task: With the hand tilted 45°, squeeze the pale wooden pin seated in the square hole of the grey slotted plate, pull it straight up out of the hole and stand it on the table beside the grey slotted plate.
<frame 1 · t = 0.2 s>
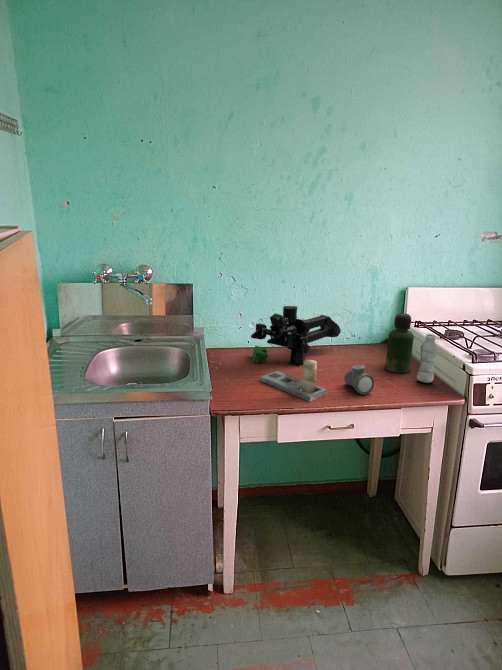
hand: (259, 339, 193), 17 cm above the table, fingers open, 9 cm apart
pipe fitting: (356, 389, 188), on the table
plastic bottle: (424, 382, 197), on the table
grey slotted plate: (292, 387, 188), on the table
pin: (308, 393, 183), resting in grey slotted plate
clamp: (260, 360, 218), on the table
green bottle: (397, 369, 210), on the table
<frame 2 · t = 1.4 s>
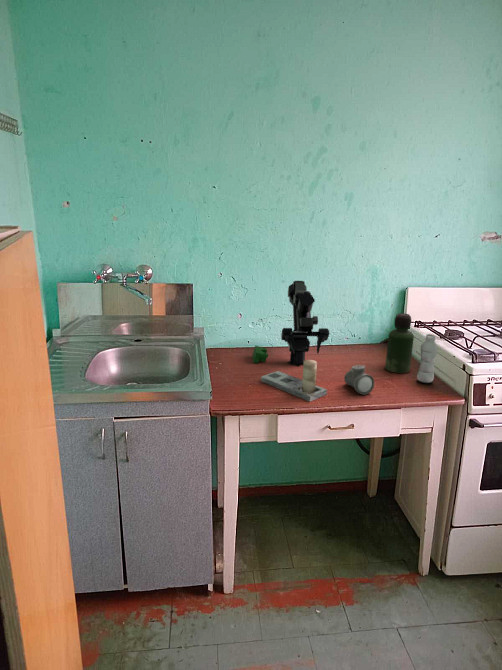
hand: (306, 353, 186), 14 cm above the table, fingers open, 9 cm apart
nothing on the table moved.
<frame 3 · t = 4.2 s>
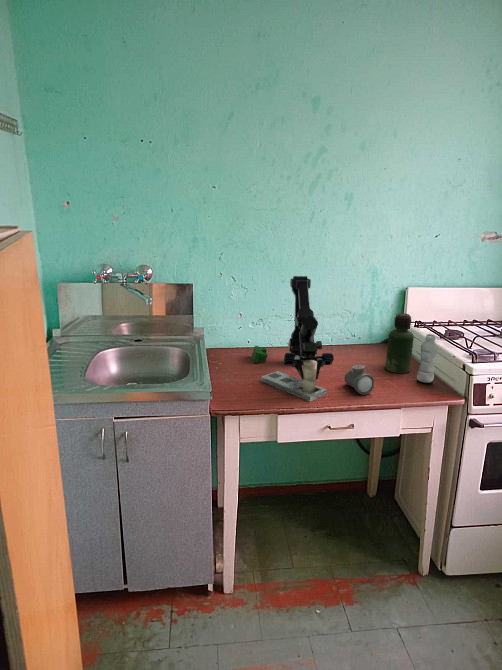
hand: (309, 379, 179), 7 cm above the table, fingers closed on pin, 5 cm apart
pin: (308, 393, 183), resting in grey slotted plate, touching gripper
everything else where it was.
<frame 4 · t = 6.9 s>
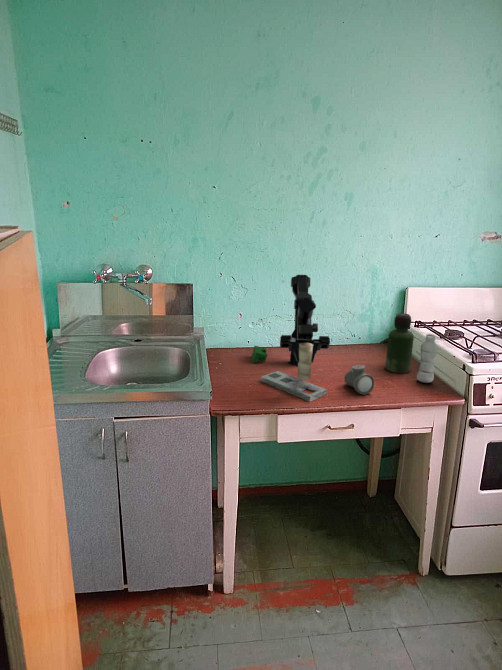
hand: (305, 362, 177), 13 cm above the table, fingers closed on pin, 5 cm apart
pin: (304, 377, 181), point 7 cm above the table, touching gripper
everything else where it was.
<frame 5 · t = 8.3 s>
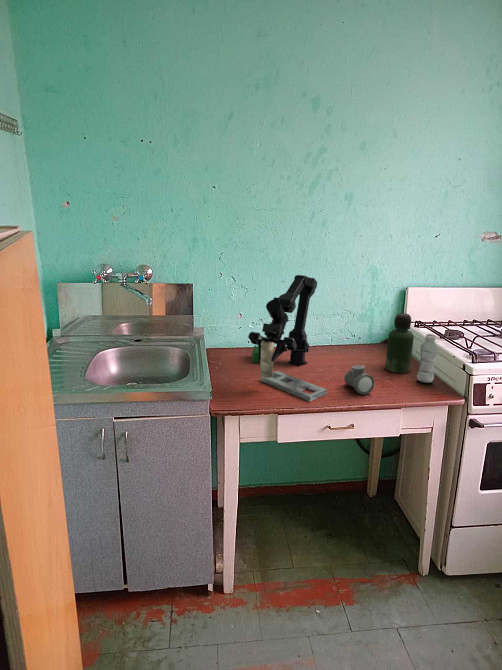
hand: (265, 360, 181), 13 cm above the table, fingers closed on pin, 5 cm apart
pin: (266, 375, 184), point 6 cm above the table, touching gripper
everything else where it was.
when the fingers open (8 cm above the table, at t = 9.6 s): pin drops 1 cm, on the table.
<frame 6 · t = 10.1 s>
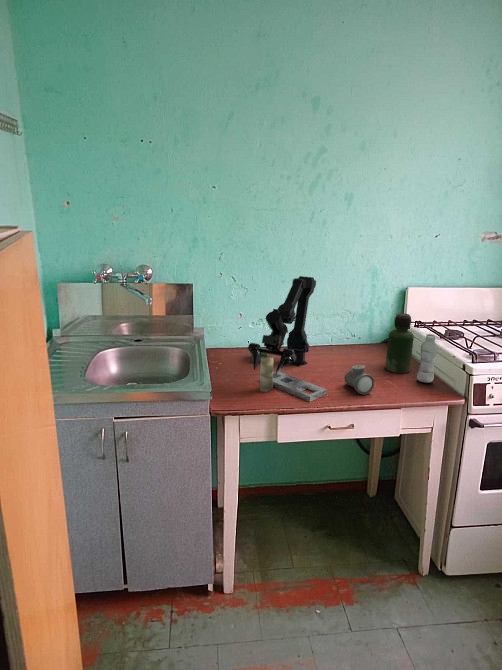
hand: (265, 371, 182), 8 cm above the table, fingers open, 9 cm apart
pin: (266, 389, 186), on the table
everything else where it was.
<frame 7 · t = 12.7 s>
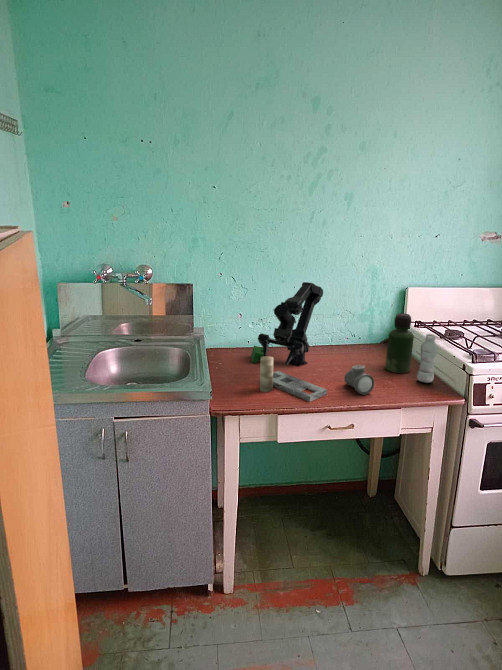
hand: (275, 362, 191), 9 cm above the table, fingers open, 9 cm apart
nothing on the table moved.
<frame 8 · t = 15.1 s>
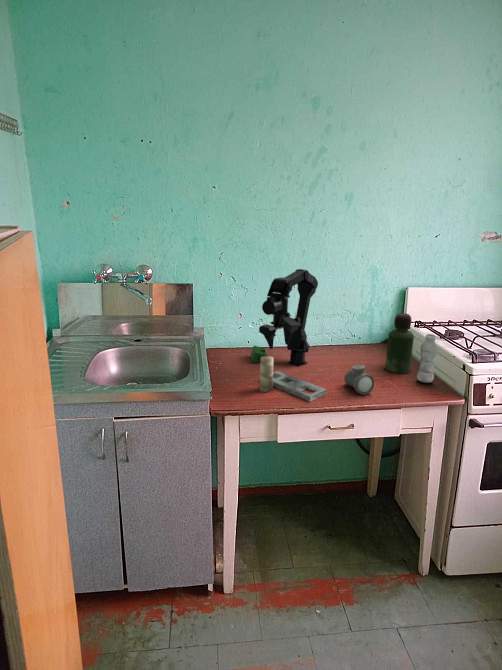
hand: (279, 346, 196), 13 cm above the table, fingers open, 9 cm apart
nothing on the table moved.
at the end: pin inside the target area (0.2 cm from its centre), on the table; pin tilted 0°; the gripper is holding nothing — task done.
